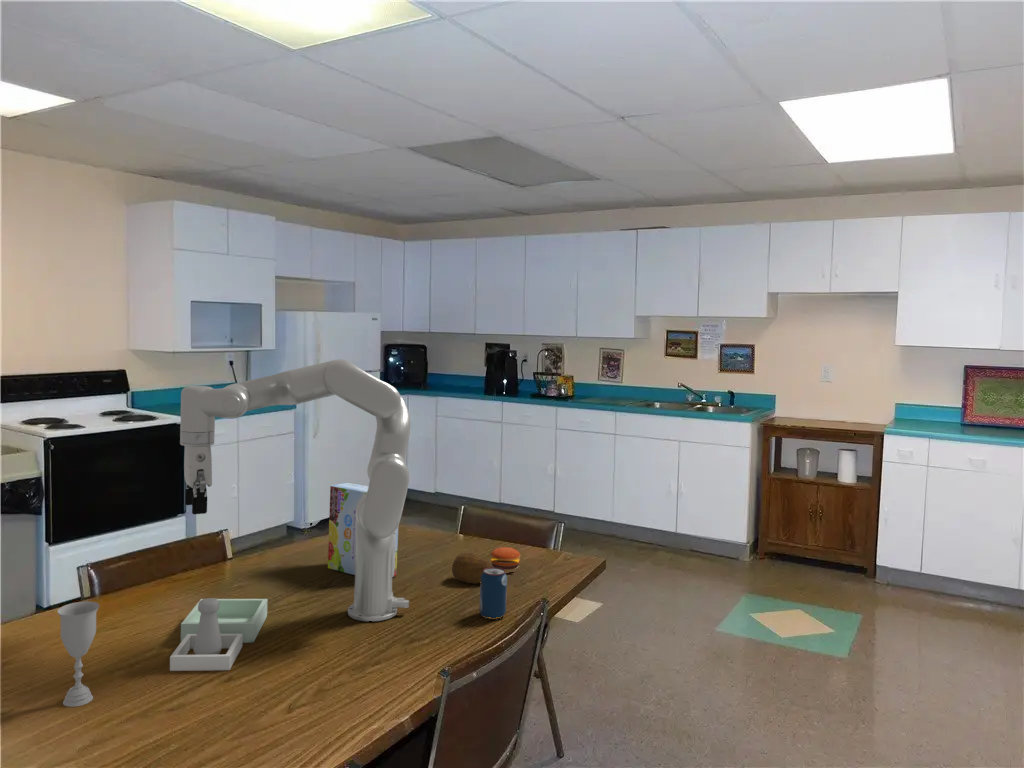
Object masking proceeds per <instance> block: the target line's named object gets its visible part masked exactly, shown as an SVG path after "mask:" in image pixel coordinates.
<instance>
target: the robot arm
mask: <svg viewBox="0 0 1024 768" xmlns="http://www.w3.org/2000/svg"><path fill="white" fill-rule="evenodd" d="M332 396H337V397H338V398H340V399H342V400H344V401H346V402H347V403H350V404H351V405H352V406H355V407H357V408H358V409H361V410H363V411H364V412H366V413H367V414H370V415H372V416H374V417H375V419H376V431H375V436H374V442H373V444H372V445H373V446H372V450H371V454H370V458H369V462H368V465H367V468H366V469H367V470H366V472H367V477H368V479H369V482H368V486H369V487H368V491H367V493H366V494H365V495H363V496H362V497H361V499H360V500H359V502H358V504H357V508H356V560H355V575H354V590H353V591H354V593H353V594H354V596H353V597H354V598H353V603H352V604H350V606H348V607H347V615H348V616H349V617H350V618H351V619H353V620H356V621H360V622H369V621H372V622H382V621H386V620H389V619H391V618H393V617H395V616H396V615H397V614H398V608H403V609H404V608H406V609H407V608H409V607H410V606H409V605H410V599H405V597H396V596H394V592H393V577H392V572H393V547H394V532H395V530H396V529H397V527H398V528H399V524H400V523H401V518H402V515H403V510H404V506H405V501H406V498H407V493H408V488H409V484H410V471H409V468H408V466H407V464H406V463H405V461H406V460H405V459H406V456H407V455H406V454H407V451H408V445H409V439H410V434H411V416H410V411H409V409H408V406H407V404H406V402H405V400H404V398H403V396H402V395H401V394H400V392H399V391H398V390H397V388H396V387H394V386H393V385H391V384H390V383H388V382H386V381H383V380H381V379H379V378H377V377H376V376H374V375H372V374H370V373H368V372H367V371H365V370H363V369H362V368H360V367H358V366H357V365H355V364H353V363H352V362H350V361H349V360H346V359H342V358H341V359H334V360H330V361H329V360H328V361H325V362H321V363H317V364H316V363H315V364H312V365H308V366H307V365H306V366H303V367H297V368H293V369H290V370H285V371H281V372H278V373H275V374H271V375H267V376H263V377H258V378H254V379H250V380H244V381H241V382H235V383H232V384H228V385H226V386H225V387H223V388H221V387H220V388H213V387H212V386H208V385H189V386H185V387H183V388H182V390H181V393H180V427H179V429H180V430H179V432H180V433H179V437H180V438H179V439H180V440H179V444H180V445H181V446H184V465H183V466H184V467H183V471H184V473H183V474H184V477H183V478H184V481H185V483H186V484H185V493H184V496H185V500H184V501H185V505H186V506H191V513H192V515H203V514H207V512H208V491H207V487H212V485H213V467H212V466H213V464H212V461H213V460H212V447H211V446H213V445H215V430H216V428H215V427H216V424H215V423H216V418H222V419H231V420H234V419H238V418H240V417H242V416H243V415H244V414H246V412H250V411H253V410H257V409H262V408H266V407H271V406H278V405H281V406H294V405H300V404H304V403H308V402H311V401H316V400H320V399H323V398H328V397H332Z"/></svg>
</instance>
